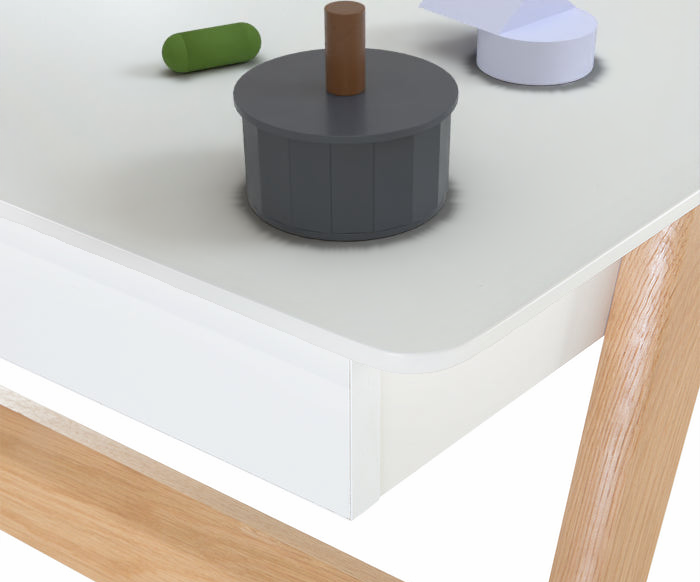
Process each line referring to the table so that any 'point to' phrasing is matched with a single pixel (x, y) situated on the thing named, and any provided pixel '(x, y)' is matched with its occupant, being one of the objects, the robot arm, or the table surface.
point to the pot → (347, 183)
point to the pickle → (211, 47)
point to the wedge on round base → (527, 38)
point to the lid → (345, 88)
